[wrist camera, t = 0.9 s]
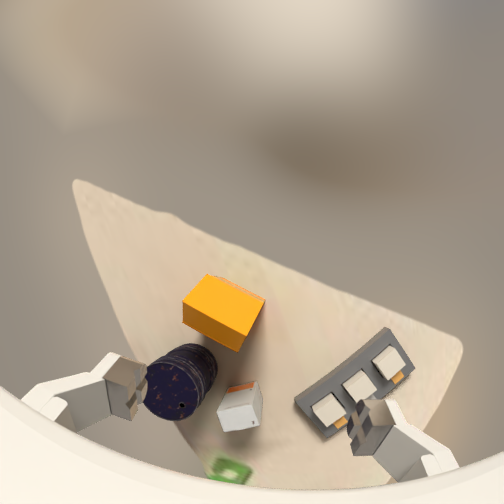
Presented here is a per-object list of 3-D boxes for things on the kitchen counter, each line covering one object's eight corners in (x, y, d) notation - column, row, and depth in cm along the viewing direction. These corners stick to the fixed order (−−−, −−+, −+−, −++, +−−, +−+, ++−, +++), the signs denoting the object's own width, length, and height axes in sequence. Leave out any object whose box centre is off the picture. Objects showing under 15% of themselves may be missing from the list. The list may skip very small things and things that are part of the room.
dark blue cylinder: (160, 366, 51) (126, 390, 37) (188, 332, 52) (159, 347, 37) (198, 399, 50) (175, 432, 35) (228, 365, 51) (213, 393, 36)
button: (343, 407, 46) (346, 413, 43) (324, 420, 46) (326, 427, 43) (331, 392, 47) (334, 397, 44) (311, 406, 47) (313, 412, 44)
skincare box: (257, 379, 50) (253, 404, 38) (263, 398, 49) (261, 426, 38) (226, 386, 50) (215, 411, 38) (233, 405, 50) (223, 433, 38)
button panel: (410, 365, 48) (415, 368, 45) (325, 432, 48) (327, 438, 45) (384, 326, 50) (389, 328, 47) (294, 397, 49) (295, 402, 46)
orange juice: (246, 335, 51) (232, 364, 31) (204, 313, 52) (167, 328, 32) (266, 298, 52) (263, 306, 32) (223, 276, 53) (195, 270, 33)
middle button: (372, 385, 46) (377, 389, 43) (354, 399, 46) (358, 404, 43) (361, 369, 47) (365, 373, 44) (342, 384, 47) (345, 389, 44)
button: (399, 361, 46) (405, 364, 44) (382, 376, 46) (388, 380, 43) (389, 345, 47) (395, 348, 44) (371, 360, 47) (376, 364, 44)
